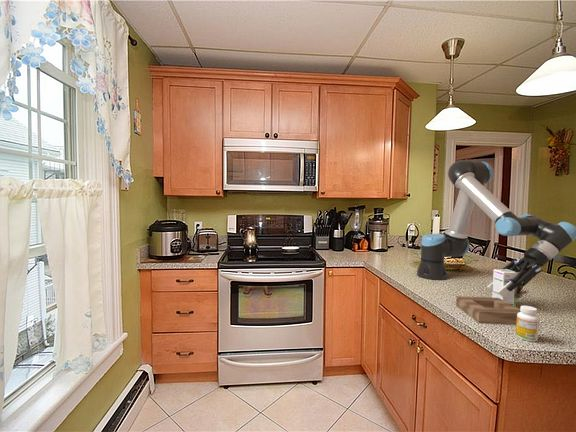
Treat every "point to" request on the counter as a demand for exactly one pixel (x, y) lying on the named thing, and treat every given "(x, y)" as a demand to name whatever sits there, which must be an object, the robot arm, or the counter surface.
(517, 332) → the supplement bottle
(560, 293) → the counter surface
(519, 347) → the counter surface
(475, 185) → the robot arm
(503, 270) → the syrup box
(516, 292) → the bolt
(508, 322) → the socket block
